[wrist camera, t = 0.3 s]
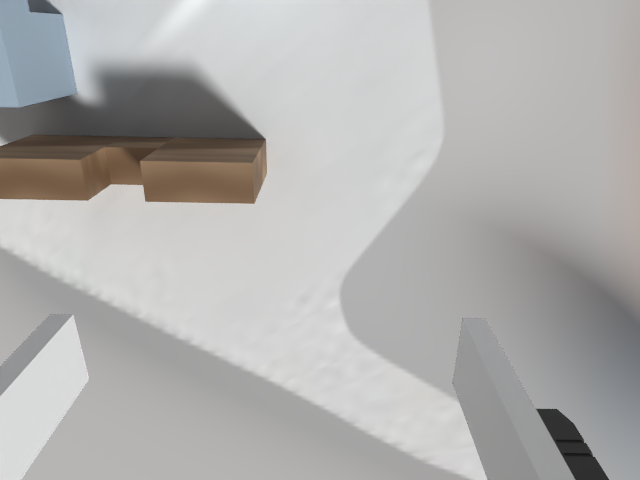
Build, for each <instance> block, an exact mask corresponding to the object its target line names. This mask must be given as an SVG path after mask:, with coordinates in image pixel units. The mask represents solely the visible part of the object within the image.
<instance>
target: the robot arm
mask: <svg viewBox="0 0 640 480" xmlns="http://www.w3.org/2000/svg"><path fill="white" fill-rule="evenodd" d="M88 380H89V377H88V372H87V368H86V364H85V361H84V356H83V352H82V349H81V344H80V340H79V336H78V332H77V328H76V324H75V321H74V316H73V315H72V314H50V315H49V316H48V317H47V318H46V320H44V321H43V322H42V324H41V325H40V326H39V327H38V328H37V329H36V330H35V331H34V332H33V333H32V334H31V335H30V336H29V337H28V338H27V339H26V340H25V341H24V342H23V343H22V344H21V345H20V346H19V347H18V348H17V349H16V350H15V351H14V353H13V354H12V355H11V356H10V357H9V358H8V359H7V360H6V361H5V362H4V363H3V364H2V365H1V366H0V480H21V479H22V477H23V476H24V474H25V473H26V471H27V470H28V469H29V467H30V466H31V464H32V462H33V461H34V460H35V458H36V457H37V455H38V454H39V452H40V451H41V449H42V448H43V446H44V445H45V443H46V442H47V441H48V439H49V438H50V436H51V435H52V433H53V432H54V430H55V429H56V427H57V426H58V424H59V423H60V421H61V420H62V418H63V417H64V415H65V414H66V412H67V411H68V409H69V408H70V407H71V405H72V404H73V402H74V401H75V399H76V398H77V396H78V395H79V393H80V392H81V390H82V389H83V387H84V386H85V384H86V383H87V381H88ZM453 385H454V388H455V391H456V394H457V397H458V399H459V402H460V405H461V408H462V410H463V413H464V416H465V419H466V421H467V424H468V427H469V430H470V432H471V435H472V438H473V441H474V443H475V446H476V449H477V452H478V454H479V457H480V460H481V463H482V465H483V468H484V471H485V474H486V476H487V479H488V480H609V479H608V477H607V476H606V474H605V473H604V471H603V469H602V468H601V466H600V465H599V463H598V462H597V460H596V458H595V457H593V455H592V452H591V450H590V449H589V447H588V446H587V444H586V443H584V439H583V438H582V436H581V435H580V433H579V432H578V430H577V428H576V427H575V425H574V424H573V423H572V422H571V421H570V420H569V419H568V418H567V417H565V416H564V415H563V414H562V413H561V412H560V411H559V410H557V409H536V408H535V407H534V405H533V403H532V401H531V399H530V398H529V396H528V394H527V392H526V390H525V389H524V387H523V385H522V383H521V381H520V380H519V378H518V376H517V374H516V373H515V371H514V369H513V367H512V365H511V364H510V362H509V360H508V358H507V356H506V355H505V353H504V351H503V349H502V347H501V346H500V344H499V342H498V340H497V338H496V337H495V335H494V333H493V331H492V330H491V328H490V326H489V324H488V322H487V321H486V319H485V318H462V324H461V331H460V337H459V344H458V350H457V358H456V363H455V371H454V377H453Z"/></svg>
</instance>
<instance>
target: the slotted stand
mask: <svg viewBox="0 0 640 480" xmlns="http://www.w3.org/2000/svg"><path fill="white" fill-rule="evenodd" d="M266 174H267V163H266V139H222V138H167V137H113V136H58V135H31V136H28V137H26V138H23V139H20V140H17V141H14V142H11V143H8V144H5V145H3V146H0V199H37V200H89V199H91V198H92V197H93V196H95V195H96V194H98V193H99V192H101V191H102V190H103V189H105V188H106V187H108V186H109V185H110V184H127V185H143V186H144V194H145V201H146V202H198V203H252V204H254V203H255V201H256V198H257V196H258V193H259V191H260V189H261V186H262V184H263V181H264V179H265V177H266Z"/></svg>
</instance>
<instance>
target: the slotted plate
mask: <svg viewBox="0 0 640 480" xmlns="http://www.w3.org/2000/svg"><path fill="white" fill-rule="evenodd" d="M73 94H77V90H76V84H75V79H74V73H73V68H72V63H71V57H70V52H69V47H68V41H67V36H66V30H65V25H64V20H63V14H51V13H37V12H30V10H29V6H28V1H27V0H0V107H19V108H20V107H24V106H28V105H32V104H36V103H40V102H44V101H48V100H52V99H57V98H61V97H65V96H69V95H73Z"/></svg>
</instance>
